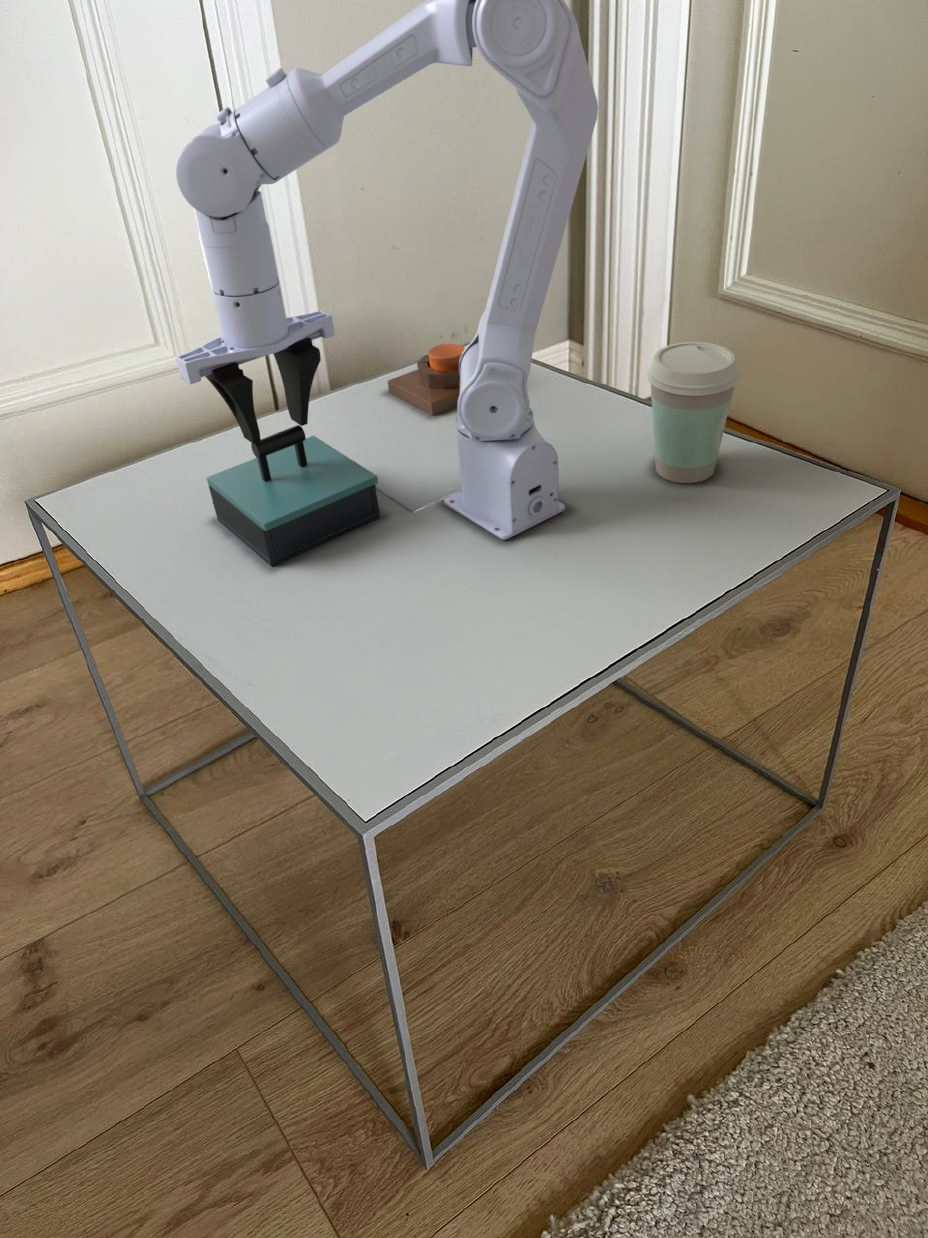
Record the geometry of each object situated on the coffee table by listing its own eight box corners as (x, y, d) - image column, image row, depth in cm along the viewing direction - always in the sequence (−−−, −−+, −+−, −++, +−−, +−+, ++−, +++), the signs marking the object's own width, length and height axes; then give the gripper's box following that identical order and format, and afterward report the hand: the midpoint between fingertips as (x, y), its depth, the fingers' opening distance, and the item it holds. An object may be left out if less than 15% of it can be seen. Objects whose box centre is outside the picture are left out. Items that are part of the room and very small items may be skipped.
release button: (451, 354, 116) (450, 340, 115) (473, 364, 113) (472, 350, 112) (422, 365, 114) (421, 351, 113) (444, 375, 111) (443, 361, 110)
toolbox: (378, 483, 90) (371, 436, 87) (266, 531, 84) (254, 484, 81) (315, 441, 98) (306, 397, 95) (207, 484, 92) (195, 438, 89)
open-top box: (380, 517, 93) (375, 481, 90) (271, 567, 87) (262, 529, 85) (321, 477, 100) (315, 442, 98) (217, 520, 95) (207, 484, 92)
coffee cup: (728, 492, 92) (742, 376, 85) (640, 488, 94) (646, 374, 86) (727, 450, 99) (740, 339, 91) (644, 447, 100) (650, 338, 93)
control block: (465, 363, 121) (464, 337, 119) (511, 384, 115) (510, 357, 113) (388, 393, 115) (385, 366, 113) (432, 416, 110) (429, 388, 108)
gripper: (296, 254, 86) (320, 393, 94) (146, 297, 79) (187, 442, 88) (336, 270, 81) (358, 415, 90) (182, 317, 75) (221, 468, 83)
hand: (276, 430), depth 89 cm, fingers open, 4 cm apart
